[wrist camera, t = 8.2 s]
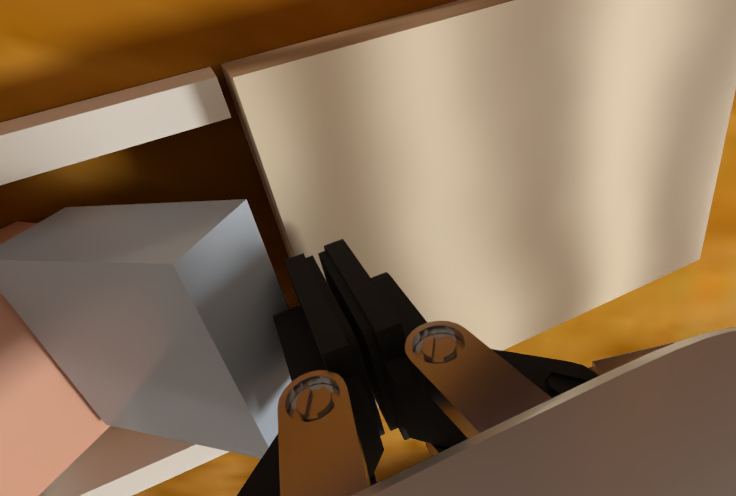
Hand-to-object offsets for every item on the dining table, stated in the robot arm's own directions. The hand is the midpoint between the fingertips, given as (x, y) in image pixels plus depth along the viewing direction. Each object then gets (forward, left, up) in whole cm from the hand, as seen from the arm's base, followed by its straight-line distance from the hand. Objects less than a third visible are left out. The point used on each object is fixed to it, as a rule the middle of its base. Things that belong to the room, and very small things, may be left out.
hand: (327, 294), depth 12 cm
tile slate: (-3, 0, -2) cm, 4 cm away
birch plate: (+8, 0, -5) cm, 9 cm away
